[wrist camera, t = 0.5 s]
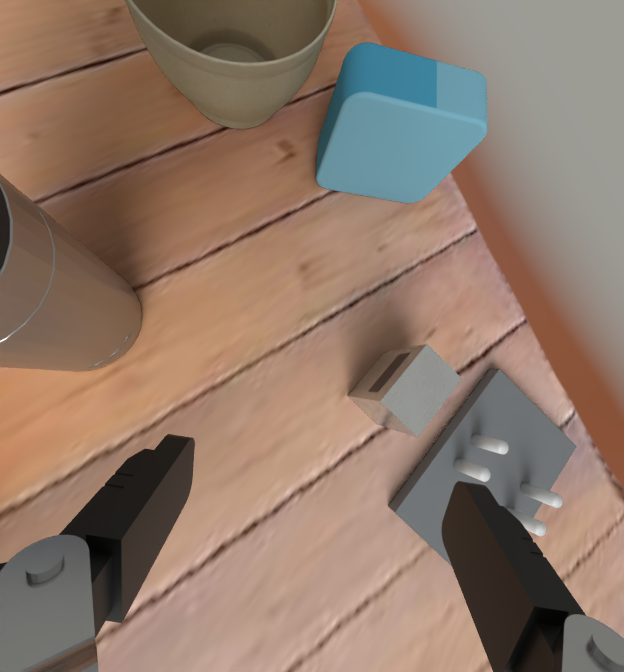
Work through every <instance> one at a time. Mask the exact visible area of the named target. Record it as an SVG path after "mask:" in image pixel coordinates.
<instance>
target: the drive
mask: <svg viewBox="0 0 624 672" xmlns="http://www.w3.org/2000/svg"><path fill="white" fill-rule="evenodd" d="M461 379H462V378H461V377H460V376H459V375H458V374H457V373H456V372H455V371H454V370H453V369H452V368H451V367H450V366H449V365H448V364H447V363H446V362H445V361H444V360H443V359H442V358H441V357H440V356H439V355H438V354H437V353H436V352H435V351H434V350H433V349H432V348H431V347H430V346H429V345H428V344H424V345H419V346H414V347H409V348H404V349H399V350H394V351H389V352H385V353H384V354H383V355H382V356H381V357H380V359H379V360H378V361H377V362H376V363H375V365H374V366H373V367H372V368H371V369H370V370H369V372H368V373H367V374H366V375H365V376H364V377H363V379H362V380H361V381H360V382H359V383H358V384H357V386H356V387H355V388H354V389H353V390H352V392H351V393H350V394H349V395H348V397H349V398H350V399H351V400H352V401H353V402H354V403H355V404H356V405H357V406H358V407H359V408H360V409H361V410H362V411H363V412H364V413H365V414H366V415H367V416H368V417H369V418H370V419H372V420H373V421H374V422H375V423H376V424H378V425H381V426H384V427H387V428H390V429H393V430H396V431H400V432H403V433H406V434H409V435H412V436H415V437H418V436H419V435H420V434H421V432H422V431H423V430H424V428H425V427H426V426H427V424H428V423H429V422H430V420H431V419H432V418H433V417H434V415H435V414H436V413H437V411H438V410H439V409H440V407H441V406H442V405H443V403H444V402H445V401H446V399H447V398H448V397H449V395H450V394H451V393H452V391H453V390H454V389H455V387H456V386H457V385H458V383H459V382H460V381H461Z"/></svg>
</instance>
